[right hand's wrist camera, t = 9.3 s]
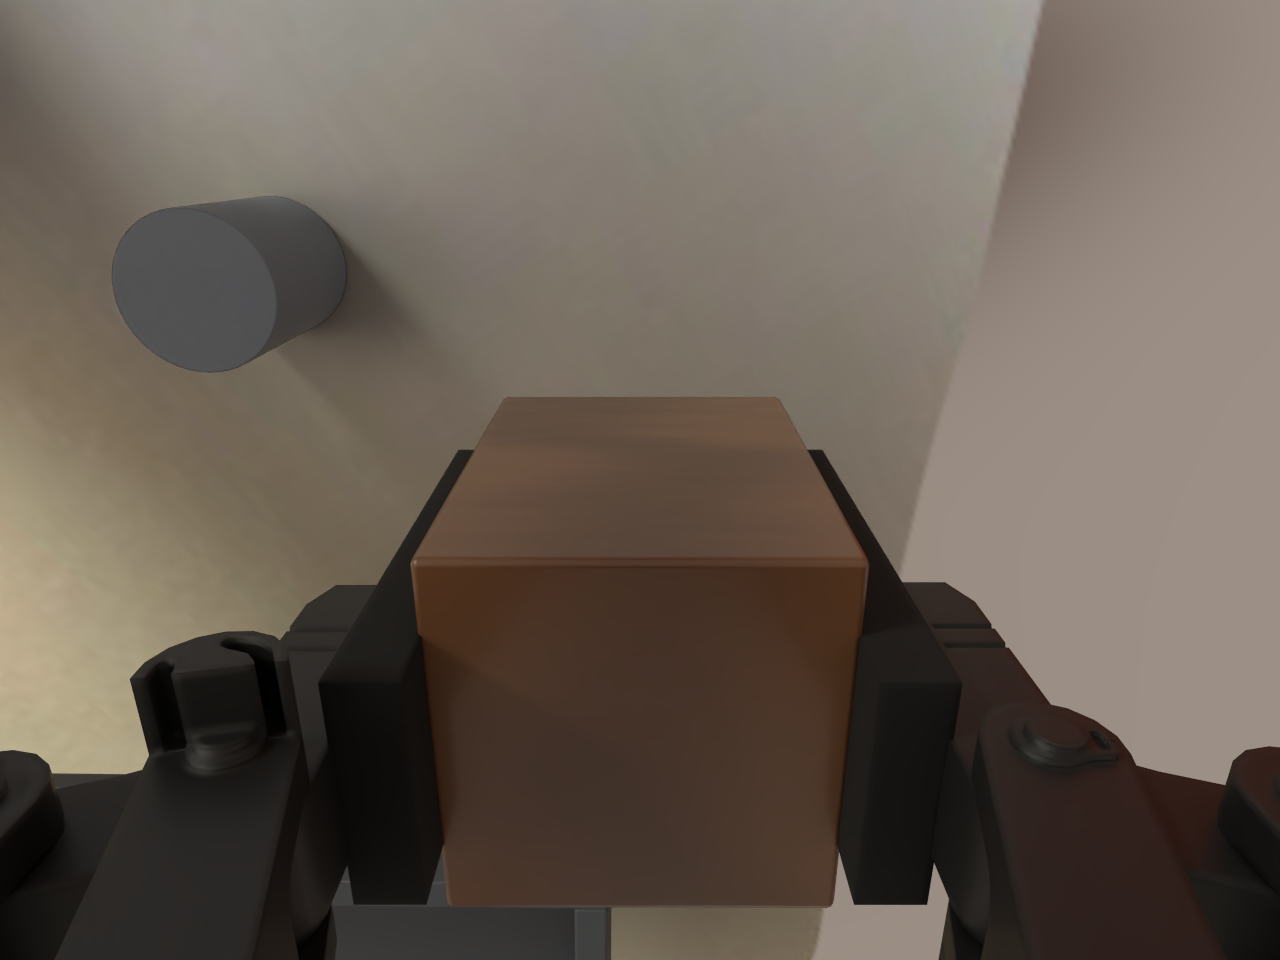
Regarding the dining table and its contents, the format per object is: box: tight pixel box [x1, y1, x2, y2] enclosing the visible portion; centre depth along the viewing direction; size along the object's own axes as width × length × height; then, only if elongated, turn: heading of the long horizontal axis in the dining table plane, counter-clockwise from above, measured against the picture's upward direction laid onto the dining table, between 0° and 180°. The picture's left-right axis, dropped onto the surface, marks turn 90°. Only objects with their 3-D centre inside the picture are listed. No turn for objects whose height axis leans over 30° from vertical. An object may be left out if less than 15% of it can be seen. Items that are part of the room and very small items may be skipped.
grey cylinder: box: [112, 196, 346, 373], centre depth 26 cm, size 4×4×6 cm
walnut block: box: [411, 397, 869, 908], centre depth 12 cm, size 4×4×6 cm
